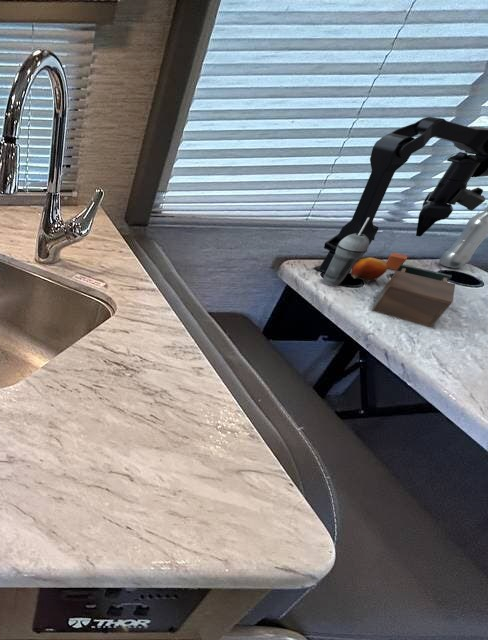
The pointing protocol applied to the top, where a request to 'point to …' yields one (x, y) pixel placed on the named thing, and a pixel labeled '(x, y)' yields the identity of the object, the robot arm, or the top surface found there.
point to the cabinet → (415, 298)
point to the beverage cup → (346, 257)
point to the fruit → (368, 269)
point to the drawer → (424, 273)
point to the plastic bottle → (467, 242)
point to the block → (395, 260)
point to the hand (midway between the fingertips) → (419, 231)
